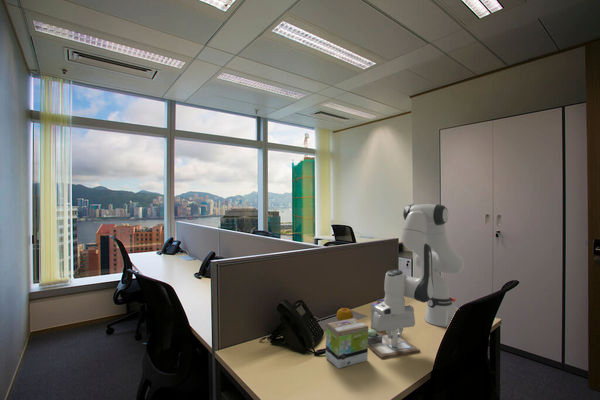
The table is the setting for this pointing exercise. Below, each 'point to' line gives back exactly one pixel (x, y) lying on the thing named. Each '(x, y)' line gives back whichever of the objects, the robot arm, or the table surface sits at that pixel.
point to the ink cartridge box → (374, 311)
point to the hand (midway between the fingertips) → (394, 337)
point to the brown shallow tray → (389, 346)
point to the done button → (371, 332)
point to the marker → (394, 338)
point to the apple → (344, 314)
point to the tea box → (346, 342)
